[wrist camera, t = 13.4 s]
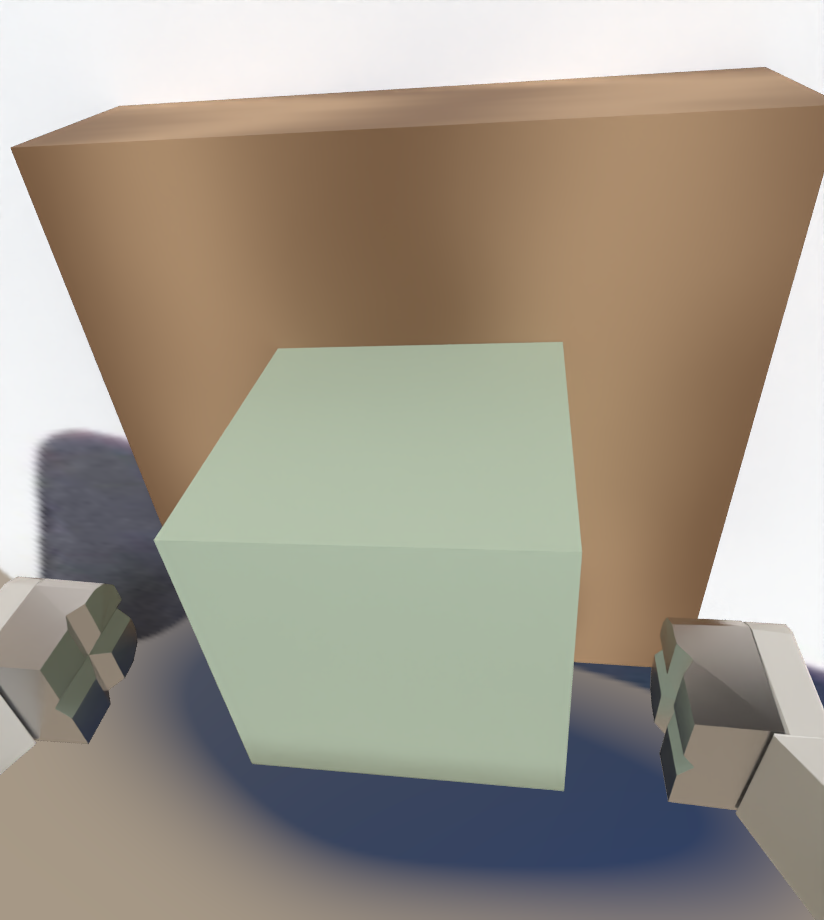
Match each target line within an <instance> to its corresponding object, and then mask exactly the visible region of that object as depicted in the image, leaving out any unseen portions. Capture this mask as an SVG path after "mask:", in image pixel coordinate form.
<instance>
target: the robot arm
mask: <svg viewBox="0 0 824 920" xmlns="http://www.w3.org/2000/svg"><path fill="white" fill-rule="evenodd" d="M121 600H122V599H121V598H120V596H119V594H118V592H117V590H116V589H115V587H114V585H109V584H100V583H89V582H78V581H67V580H56V579H43V578H29V577H16V578H14V579H12V580H10V581H9V582H7V583H5V585H4V586H3V587H2V588H1V590H0V775H1V774H2V773H3V772H4V771H5V770H6V769H7V768H9V767H10V766H11V765H12V764H13V763H14V762H16V761H17V760H18V759H19V758H20V757H21V756H23V755H24V754H25V753H26V752H27V751H28V750H30V749H31V748H32V747H33V746H34V745H35V744H36V741H35V740H38V741H39V740H40V741H53V742H67V743H82V744H89V742H90V740H91V738H92V737H93V735H94V733H95V731H96V729H97V728H98V726H99V724H100V722H101V720H102V718H103V717H104V715H105V713H106V711H107V709H108V708H109V706H110V697H109V691H108V690H109V689H111V688H112V687H113V686H115V685H116V684H117V683H119V682H120V681H122V680H123V679H124V678H125V677H126V675H127V673H128V671H129V669H130V667H131V665H132V663H133V661H134V656H135V651H136V647H137V636H136V629H135V627H134V624H133V622H132V620H131V618H129V617H128V616H127V615H125V614H124V613H123V612H121V611H120V610H119V609H117V607H118V606H119V604H120V602H121ZM660 639H661V645H662V650H661V651H660V652H658V653H657V654H655V655H654V659H653V664H652V669H651V686H650V691H651V703H652V710H653V716H654V722H655V724H656V725H657V726H658V727H659V728H660V729H661V730H662V731H663V733H664V734H665V736H664V740H663V743H662V747H661V750H660V758H661V764H662V770H663V775H664V780H665V786H666V792H667V797H668V802H675V803H683V804H691V805H699V806H707V807H715V808H723V809H731V810H737V812H736V814H737V816H738V817H739V819H740V820H741V821H742V822H743V824H744V825H745V827H746V828H747V829H748V831H749V832H750V833H751V835H752V836H753V837H754V839H755V840H756V841H757V843H758V844H759V845H760V847H761V848H762V849H763V851H764V852H765V853H766V855H767V856H768V857H769V859H770V860H771V861H772V863H773V864H774V865H775V867H776V868H777V869H778V871H779V872H780V873H781V875H782V876H783V877H784V879H785V880H786V881H787V883H788V884H789V885H790V887H791V888H792V889H793V891H794V892H795V893H796V895H797V896H798V897H799V899H800V900H801V901H802V903H803V904H804V905H805V906H806V908H807V909H808V911H809V912H810V913H811V915H812V916H813V917H814V919H815V920H824V709H823V706H822V704H821V701H820V699H819V696H818V694H817V691H816V689H815V686H814V684H813V681H812V679H811V676H810V674H809V671H808V669H807V666H806V664H805V662H804V659H803V657H802V654H801V652H800V649H799V647H798V644H797V642H796V639H795V637H794V634H793V632H792V630H791V629H790V628H789V627H788V626H787V625H786V624H773V623H756V622H742V621H733V620H713V619H692V618H672V617H667V618H666V619H665V620H664V622H663V624H662V627H661V631H660Z"/></svg>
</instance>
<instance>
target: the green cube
mask: <svg viewBox="0 0 824 920" xmlns="http://www.w3.org/2000/svg"><path fill="white" fill-rule="evenodd" d="M154 541H155V544H156V546H157V548H158V551H159V553H160V555H161V557H162V560H163V562H164V564H165V567H166V569H167V571H168V573H169V576H170V578H171V580H172V583H173V585H174V587H175V589H176V592H177V594H178V596H179V598H180V601H181V603H182V605H183V608H184V610H185V612H186V614H187V617H188V619H189V621H190V624H191V626H192V628H193V630H194V632H195V635H196V637H197V639H198V642H199V644H200V646H201V649H202V651H203V653H204V655H205V658H206V660H207V662H208V664H209V667H210V669H211V671H212V674H213V676H214V678H215V681H216V683H217V685H218V687H219V690H220V692H221V694H222V696H223V699H224V701H225V703H226V706H227V708H228V710H229V712H230V715H231V717H232V719H233V721H234V724H235V726H236V728H237V731H238V733H239V735H240V737H241V740H242V742H243V744H244V747H245V749H246V751H247V753H248V755H249V757H250V760H251V763H252V764H261V765H273V766H284V767H295V768H307V769H319V770H330V771H341V772H354V773H365V774H376V775H387V776H399V777H411V778H422V779H434V780H446V781H456V782H468V783H479V784H491V785H503V786H514V787H525V788H537V789H549V790H560V791H564V783H565V770H566V757H567V743H568V730H569V717H570V704H571V690H572V677H573V665H574V652H575V639H576V626H577V613H578V600H579V587H580V574H581V561H582V545H581V534H580V524H579V513H578V502H577V491H576V480H575V469H574V459H573V448H572V437H571V426H570V415H569V404H568V394H567V383H566V372H565V361H564V350H563V342H534V343H491V344H448V345H405V346H362V347H320V348H280V349H277V351H276V352H275V354H274V355H273V357H272V358H271V360H270V362H269V363H268V365H267V366H266V368H265V369H264V371H263V372H262V374H261V375H260V377H259V379H258V380H257V382H256V383H255V385H254V386H253V388H252V389H251V391H250V392H249V394H248V396H247V397H246V399H245V400H244V402H243V403H242V405H241V406H240V408H239V409H238V411H237V413H236V414H235V416H234V417H233V419H232V420H231V422H230V423H229V425H228V426H227V428H226V430H225V431H224V433H223V434H222V436H221V437H220V439H219V440H218V442H217V443H216V445H215V447H214V448H213V450H212V451H211V453H210V454H209V456H208V457H207V459H206V460H205V462H204V464H203V465H202V467H201V468H200V470H199V471H198V473H197V474H196V476H195V477H194V479H193V480H192V482H191V484H190V485H189V487H188V488H187V490H186V491H185V493H184V494H183V496H182V497H181V499H180V501H179V502H178V504H177V505H176V507H175V508H174V510H173V511H172V513H171V514H170V516H169V518H168V519H167V521H166V522H165V524H164V525H163V527H162V528H161V530H160V531H159V533H158V535H157V536H156V538H155V539H154Z"/></svg>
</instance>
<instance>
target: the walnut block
mask: <svg viewBox="0 0 824 920" xmlns="http://www.w3.org/2000/svg"><path fill="white" fill-rule="evenodd" d="M11 150H12V153H13V155H14V158H15V160H16V163H17V165H18V168H19V170H20V173H21V175H22V178H23V180H24V183H25V185H26V188H27V190H28V193H29V195H30V198H31V200H32V203H33V205H34V208H35V210H36V213H37V215H38V218H39V220H40V223H41V225H42V228H43V230H44V233H45V235H46V238H47V240H48V243H49V245H50V248H51V250H52V253H53V255H54V258H55V260H56V263H57V265H58V268H59V270H60V272H61V275H62V277H63V280H64V282H65V285H66V287H67V290H68V292H69V295H70V297H71V300H72V302H73V305H74V307H75V310H76V312H77V315H78V317H79V320H80V322H81V325H82V327H83V330H84V332H85V335H86V337H87V340H88V342H89V345H90V347H91V350H92V352H93V355H94V357H95V360H96V362H97V365H98V367H99V370H100V372H101V375H102V377H103V380H104V382H105V385H106V387H107V390H108V392H109V395H110V397H111V400H112V402H113V405H114V407H115V410H116V412H117V415H118V417H119V420H120V422H121V425H122V427H123V430H124V432H125V434H126V437H127V439H128V442H129V444H130V447H131V449H132V452H133V454H134V457H135V459H136V462H137V464H138V467H139V469H140V472H141V474H142V477H143V479H144V482H145V484H146V487H147V489H148V492H149V494H150V497H151V499H152V502H153V504H154V507H155V509H156V512H157V514H158V517H159V519H160V522H161V524H162V527H163V525H164V524H165V522H166V521H167V519H168V518H169V516H170V514H171V513H172V511H173V510H174V508H175V507H176V505H177V504H178V502H179V501H180V499H181V497H182V496H183V494H184V493H185V491H186V490H187V488H188V487H189V485H190V484H191V482H192V480H193V479H194V477H195V476H196V474H197V473H198V471H199V470H200V468H201V467H202V465H203V464H204V462H205V460H206V459H207V457H208V456H209V454H210V453H211V451H212V450H213V448H214V447H215V445H216V443H217V442H218V440H219V439H220V437H221V436H222V434H223V433H224V431H225V430H226V428H227V426H228V425H229V423H230V422H231V420H232V419H233V417H234V416H235V414H236V413H237V411H238V409H239V408H240V406H241V405H242V403H243V402H244V400H245V399H246V397H247V396H248V394H249V392H250V391H251V389H252V388H253V386H254V385H255V383H256V382H257V380H258V379H259V377H260V375H261V374H262V372H263V371H264V369H265V368H266V366H267V365H268V363H269V362H270V360H271V358H272V357H273V355H274V354H275V352H276V351H277V349H280V348H320V347H362V346H405V345H448V344H491V343H534V342H563V350H564V361H565V372H566V383H567V394H568V404H569V415H570V426H571V437H572V448H573V459H574V469H575V480H576V491H577V502H578V513H579V524H580V534H581V545H582V561H581V574H580V587H579V600H578V613H577V626H576V639H575V652H574V662H583V663H598V664H613V665H627V666H642V667H652V664H653V659H654V655H655V654H657V653H658V652H660V651H661V650H662V645H661V639H660V631H661V627H662V624H663V622H664V620H665V619H666V618H667V617H672V618H692V619H697V618H698V615H699V611H700V608H701V604H702V601H703V597H704V594H705V590H706V587H707V583H708V580H709V576H710V573H711V569H712V566H713V562H714V559H715V555H716V551H717V548H718V544H719V541H720V537H721V534H722V530H723V527H724V523H725V520H726V516H727V513H728V509H729V506H730V502H731V499H732V495H733V492H734V488H735V484H736V481H737V477H738V474H739V470H740V467H741V463H742V460H743V456H744V453H745V449H746V446H747V442H748V439H749V435H750V432H751V428H752V425H753V421H754V417H755V414H756V410H757V407H758V403H759V400H760V396H761V393H762V389H763V386H764V382H765V379H766V375H767V372H768V368H769V365H770V361H771V358H772V354H773V351H774V347H775V343H776V340H777V336H778V333H779V329H780V326H781V322H782V319H783V315H784V312H785V308H786V305H787V301H788V298H789V294H790V291H791V287H792V284H793V280H794V276H795V273H796V269H797V266H798V262H799V259H800V255H801V252H802V248H803V245H804V241H805V238H806V234H807V231H808V227H809V224H810V220H811V217H812V213H813V209H814V206H815V202H816V199H817V195H818V192H819V188H820V185H821V181H822V178H823V174H824V95H823V94H820V93H818V92H816V91H814V90H812V89H810V88H808V87H806V86H804V85H802V84H800V83H798V82H795V81H793V80H791V79H789V78H787V77H785V76H783V75H781V74H779V73H777V72H775V71H773V70H770V69H768V68H766V67H757V68H741V69H724V70H708V71H691V72H675V73H658V74H641V75H625V76H608V77H592V78H575V79H559V80H542V81H526V82H509V83H492V84H476V85H459V86H443V87H426V88H410V89H393V90H377V91H360V92H343V93H327V94H310V95H294V96H277V97H261V98H244V99H228V100H211V101H194V102H178V103H161V104H145V105H128V106H118V107H115V108H113V109H110V110H108V111H105V112H102V113H100V114H97V115H94V116H92V117H89V118H87V119H84V120H81V121H79V122H76V123H74V124H71V125H68V126H66V127H63V128H60V129H58V130H55V131H53V132H50V133H47V134H45V135H42V136H40V137H37V138H34V139H32V140H29V141H26V142H24V143H21V144H19V145H16V146H13V147H11Z"/></svg>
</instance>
